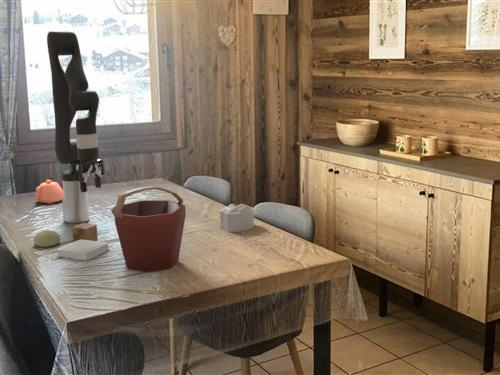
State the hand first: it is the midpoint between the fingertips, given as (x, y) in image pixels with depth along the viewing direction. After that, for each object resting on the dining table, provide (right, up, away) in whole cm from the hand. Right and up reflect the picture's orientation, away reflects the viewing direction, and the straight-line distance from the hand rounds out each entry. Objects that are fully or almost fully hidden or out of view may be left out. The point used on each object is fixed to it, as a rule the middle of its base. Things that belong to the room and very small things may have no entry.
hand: (91, 189), depth 225 cm
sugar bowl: (-35, -6, +57) cm, 67 cm away
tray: (+2, -22, -16) cm, 27 cm away
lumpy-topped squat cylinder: (+54, -15, +12) cm, 57 cm away
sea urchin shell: (-14, -20, -6) cm, 25 cm away
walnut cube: (-1, -19, -3) cm, 19 cm away
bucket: (+26, -24, -27) cm, 45 cm away
